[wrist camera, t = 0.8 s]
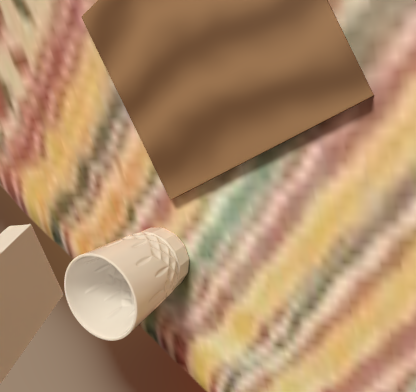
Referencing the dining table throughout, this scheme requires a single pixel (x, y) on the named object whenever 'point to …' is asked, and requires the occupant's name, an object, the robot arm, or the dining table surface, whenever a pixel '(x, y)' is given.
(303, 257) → the dining table surface
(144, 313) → the white cup
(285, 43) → the walnut board
